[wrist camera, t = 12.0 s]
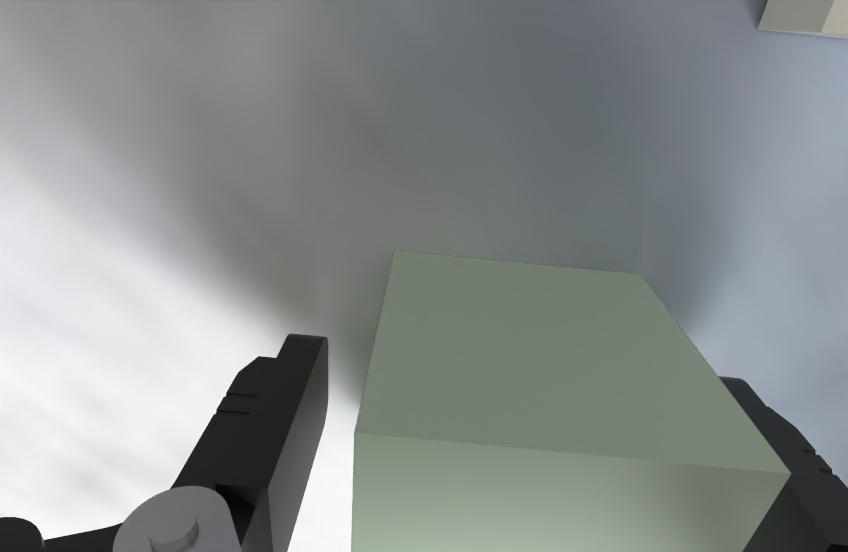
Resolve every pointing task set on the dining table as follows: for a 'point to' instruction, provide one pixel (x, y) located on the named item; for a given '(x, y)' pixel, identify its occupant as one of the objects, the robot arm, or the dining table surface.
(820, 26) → the base plate
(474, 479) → the sage block
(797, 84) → the dining table surface
